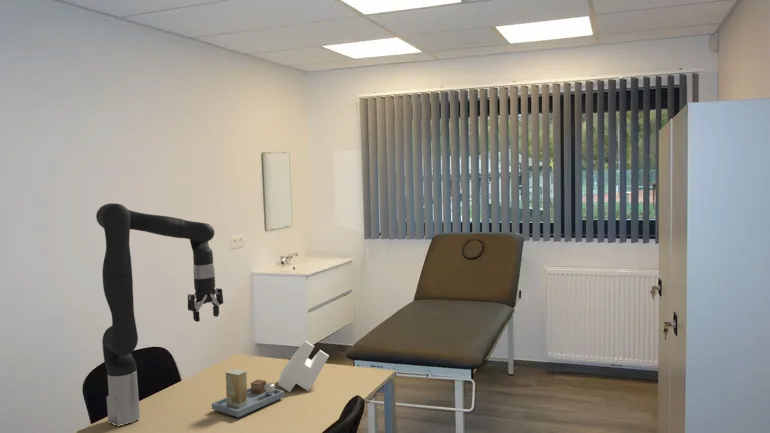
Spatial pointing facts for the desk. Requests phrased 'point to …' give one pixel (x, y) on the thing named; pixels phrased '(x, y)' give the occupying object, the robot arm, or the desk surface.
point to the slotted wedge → (302, 368)
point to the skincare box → (236, 388)
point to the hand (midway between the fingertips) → (206, 318)
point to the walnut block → (258, 387)
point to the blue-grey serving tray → (252, 403)
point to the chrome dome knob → (269, 389)
